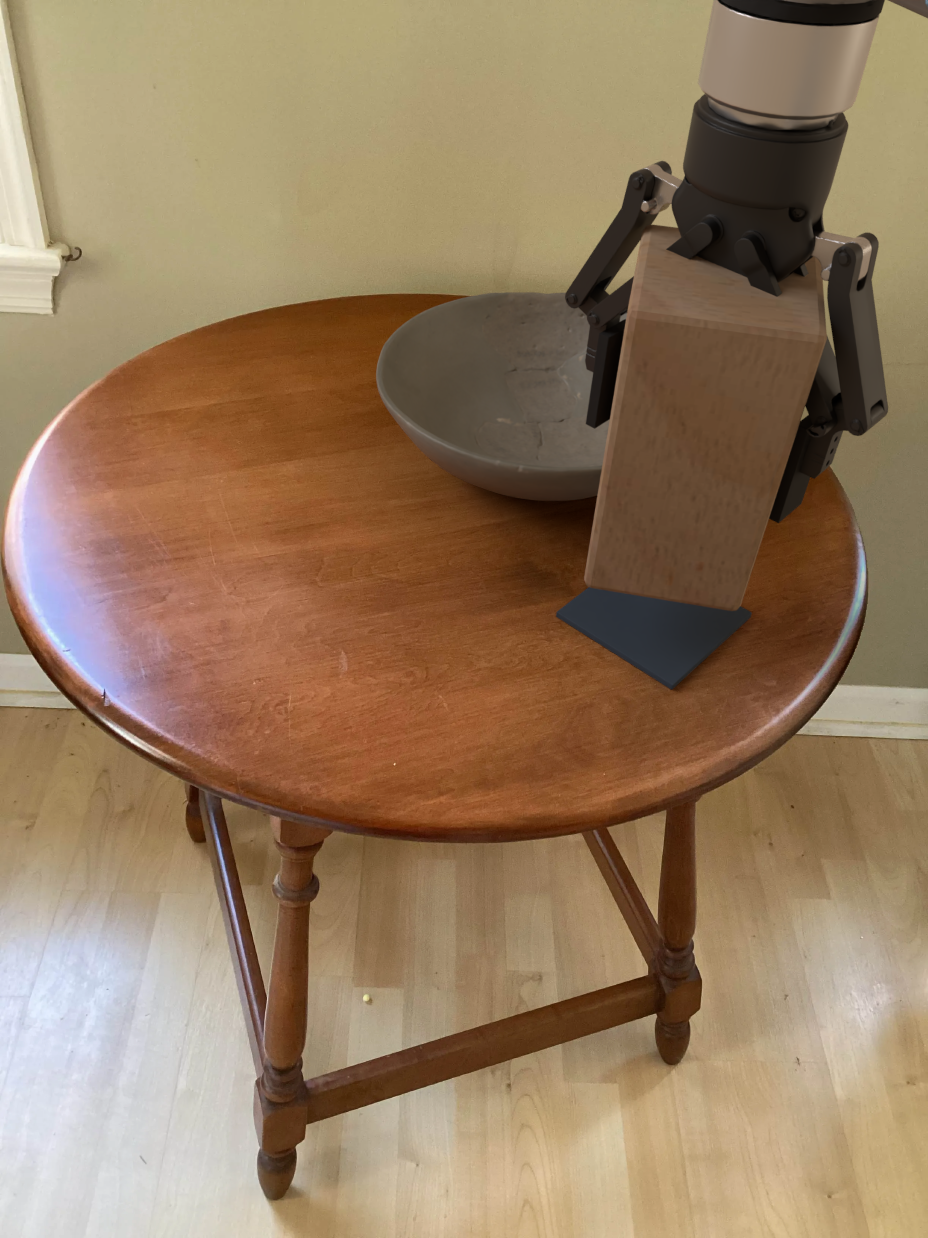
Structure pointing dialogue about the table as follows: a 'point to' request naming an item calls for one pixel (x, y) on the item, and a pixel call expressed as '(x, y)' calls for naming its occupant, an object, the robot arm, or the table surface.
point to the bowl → (499, 393)
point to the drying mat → (652, 630)
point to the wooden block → (700, 424)
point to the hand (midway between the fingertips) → (689, 463)
